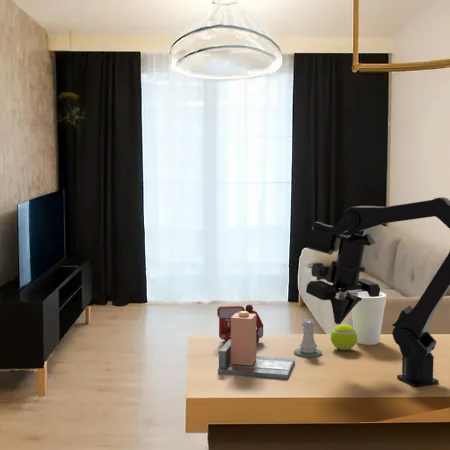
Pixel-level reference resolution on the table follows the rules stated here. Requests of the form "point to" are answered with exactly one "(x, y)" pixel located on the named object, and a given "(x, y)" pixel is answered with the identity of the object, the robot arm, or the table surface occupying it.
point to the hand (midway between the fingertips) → (337, 323)
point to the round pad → (299, 353)
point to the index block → (243, 338)
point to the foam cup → (368, 318)
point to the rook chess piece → (308, 338)
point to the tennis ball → (343, 337)
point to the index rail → (255, 365)
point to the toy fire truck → (225, 321)
